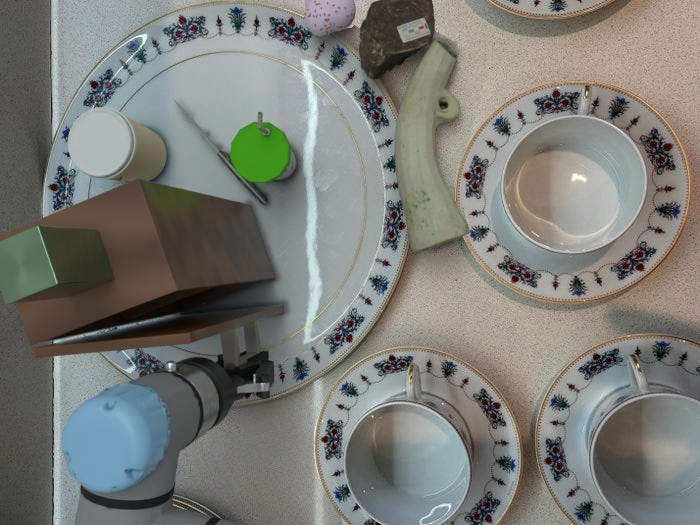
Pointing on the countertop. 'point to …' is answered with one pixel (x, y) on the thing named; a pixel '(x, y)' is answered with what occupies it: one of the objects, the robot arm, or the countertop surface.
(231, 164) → the knife
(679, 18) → the countertop surface
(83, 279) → the green rectangular block
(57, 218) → the cupboard
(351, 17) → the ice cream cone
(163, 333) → the cupboard door
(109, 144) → the coffee cup
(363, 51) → the rock
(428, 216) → the pale green curved piece
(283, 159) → the cup
